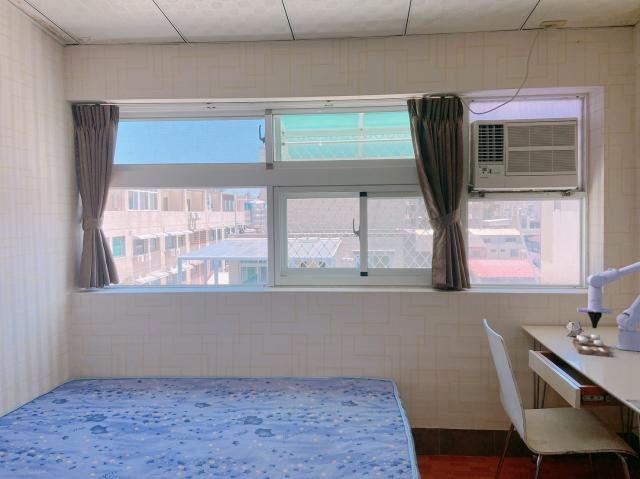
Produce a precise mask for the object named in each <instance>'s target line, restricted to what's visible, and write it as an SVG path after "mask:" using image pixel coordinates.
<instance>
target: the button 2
mask: <svg viewBox="0 0 640 479" xmlns="http://www.w3.org/2000/svg"><path fill="white" fill-rule="evenodd" d="M600 337H601V335H599V334H593V333H592V334H590V340H599V341H601V338H600Z"/></svg>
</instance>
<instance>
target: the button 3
mask: <svg viewBox="0 0 640 479" xmlns="http://www.w3.org/2000/svg"><path fill="white" fill-rule="evenodd" d="M603 344H604V342H603V340H594V345H595V346H603Z"/></svg>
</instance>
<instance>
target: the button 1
mask: <svg viewBox="0 0 640 479" xmlns="http://www.w3.org/2000/svg"><path fill="white" fill-rule="evenodd" d="M588 340H589V338H588V337H586V336H585V337H579V342H583V343H587V342H588Z"/></svg>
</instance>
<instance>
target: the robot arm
mask: <svg viewBox="0 0 640 479" xmlns="http://www.w3.org/2000/svg"><path fill="white" fill-rule="evenodd" d="M637 272H640V261H637V262H635V263H632V264H630V265H627V266H624V267H622V268H621V267H620V268H619V269H616V268H612V267H610V268H607V270H603V271H602V272H599V271H598V272H596V274H595V273H593V274H590V275H589V276H588V277H587V278H586V280H585V281H586V283H587V285H588V288H587V307H576V312H577V313H587V315H588V317H589V319H590V322H591V328H592V329H597V328H598V323H599V321H600V320H601V318H602V317H603V314H606V315H607V314H609V315H613V314H614V310H613V309H611V308H603V286H605V285H607V284H610V283H614V282H616V281H619V280H620V279H621V277H622V276H623V277H624V276H627V275H629V274H634V273H637ZM615 321H616V324H617V325H618V327H617V342H616V343H614V346H615V347H616V348H617V349H618V350H623V351H632V352H633V351H634V352H640V330H638V329H639V326H640V294H639V295H638V296H637V298H636V299H635V300H634V302H632V304H631V305H630V307H629V308H627V309H625V310H623V312H622V313H620V314H618V315H616V319H615Z"/></svg>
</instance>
